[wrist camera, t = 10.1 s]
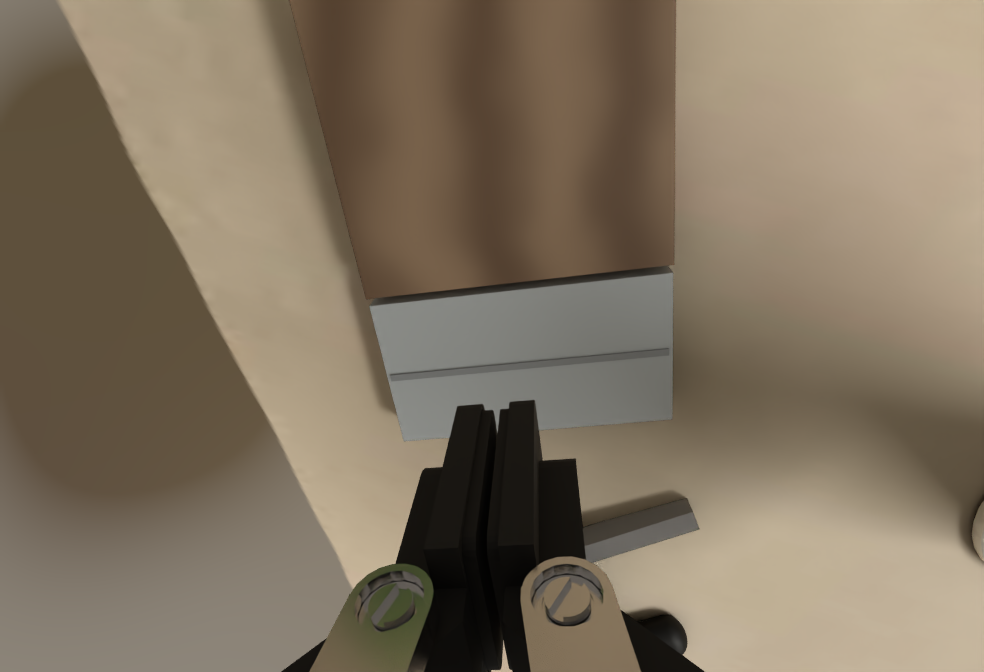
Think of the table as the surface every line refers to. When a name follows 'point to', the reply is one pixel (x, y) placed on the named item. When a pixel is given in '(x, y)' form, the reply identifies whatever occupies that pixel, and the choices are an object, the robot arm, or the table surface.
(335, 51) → the plank
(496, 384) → the laid boards
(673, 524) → the door handle
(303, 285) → the table surface
